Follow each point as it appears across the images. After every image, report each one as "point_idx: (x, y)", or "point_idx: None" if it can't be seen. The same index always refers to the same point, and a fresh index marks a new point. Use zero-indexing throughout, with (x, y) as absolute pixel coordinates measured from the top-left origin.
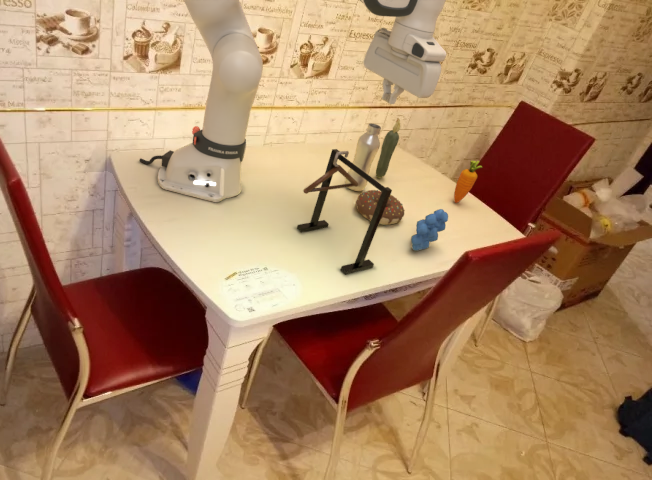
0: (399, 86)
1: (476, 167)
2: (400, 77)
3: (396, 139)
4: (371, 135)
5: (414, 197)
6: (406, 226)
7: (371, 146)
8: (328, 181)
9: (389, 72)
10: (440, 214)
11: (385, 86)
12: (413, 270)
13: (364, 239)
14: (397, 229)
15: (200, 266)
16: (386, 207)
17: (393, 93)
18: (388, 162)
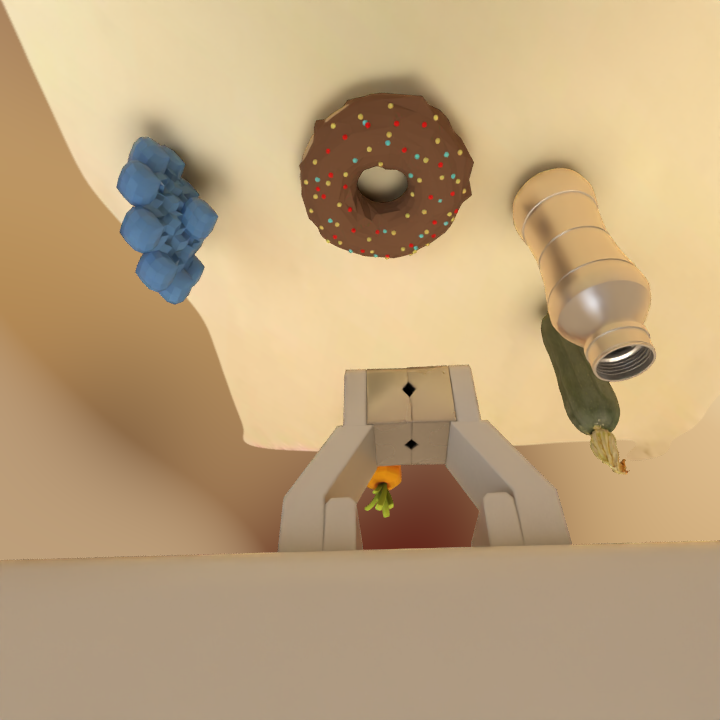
0: (232, 557)
1: (375, 500)
2: (241, 687)
3: (572, 415)
4: (602, 324)
5: (431, 340)
6: (303, 222)
7: (566, 295)
8: None
9: (504, 667)
10: (140, 268)
11: (494, 474)
12: (52, 65)
13: None
14: (291, 181)
15: None
16: (345, 185)
17: (335, 457)
18: (550, 353)
